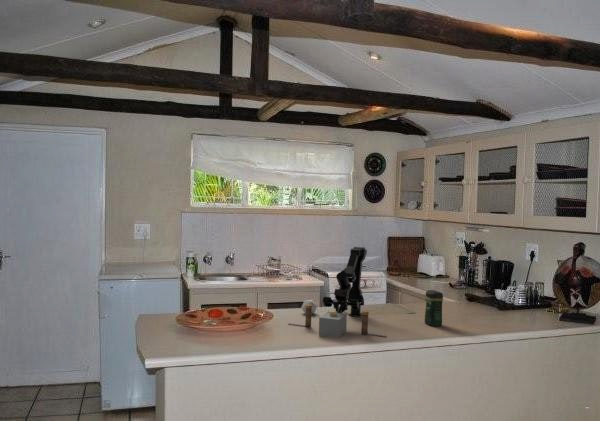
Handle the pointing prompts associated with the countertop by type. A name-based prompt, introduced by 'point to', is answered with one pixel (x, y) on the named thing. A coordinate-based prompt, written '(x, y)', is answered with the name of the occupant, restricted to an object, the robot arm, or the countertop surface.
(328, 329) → the gray block
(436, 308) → the coffee jar
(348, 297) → the robot arm
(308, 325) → the brown l-shaped pieces
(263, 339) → the countertop surface
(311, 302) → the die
